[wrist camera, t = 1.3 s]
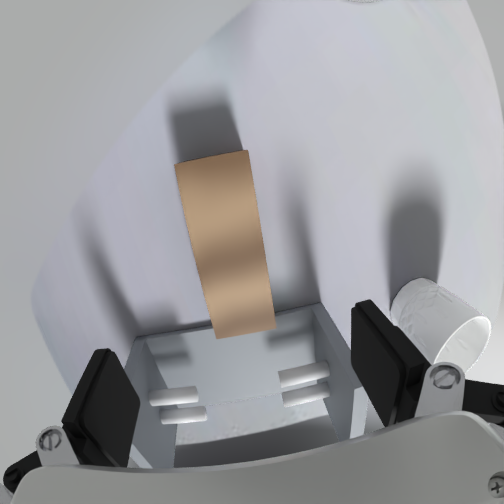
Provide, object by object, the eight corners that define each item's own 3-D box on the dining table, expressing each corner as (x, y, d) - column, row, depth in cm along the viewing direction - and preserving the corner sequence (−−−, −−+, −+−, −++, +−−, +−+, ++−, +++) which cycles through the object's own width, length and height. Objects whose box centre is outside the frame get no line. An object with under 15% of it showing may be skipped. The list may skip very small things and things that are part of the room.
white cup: (447, 278, 30) (501, 318, 21) (420, 334, 33) (464, 382, 23) (403, 266, 29) (461, 311, 19) (374, 329, 31) (417, 386, 22)
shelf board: (183, 161, 24) (174, 164, 19) (243, 150, 24) (247, 150, 19) (216, 309, 28) (216, 339, 24) (267, 299, 29) (276, 328, 24)
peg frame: (321, 302, 29) (370, 384, 18) (325, 378, 33) (358, 457, 22) (136, 337, 28) (105, 425, 17) (170, 406, 32) (160, 488, 21)
